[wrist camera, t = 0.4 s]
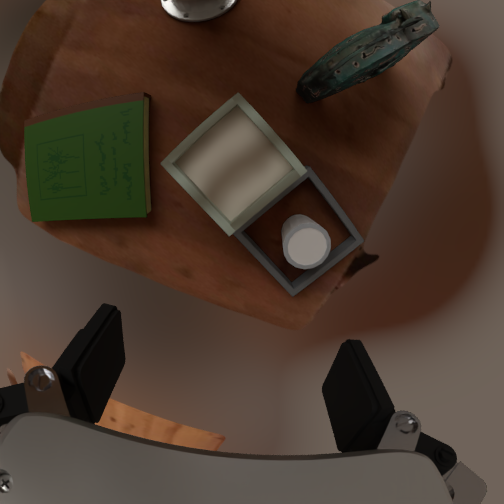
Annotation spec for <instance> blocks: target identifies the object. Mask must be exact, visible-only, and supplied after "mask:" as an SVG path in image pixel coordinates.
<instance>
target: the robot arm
mask: <svg viewBox="0 0 504 504" xmlns="http://www.w3.org/2000/svg"><path fill="white" fill-rule="evenodd" d="M236 2H237V0H161V3H162V6H163V8H164V9H165V11H166V12H167V13H168V14H169V15H170V16H171V17H173V18H175V19H177V20H181V21H186V22H201V21H207V20H210V19H214V18H216V17H218V16H221V15H222V14H224V13H226V12H227V11H228V10H230V9H231V8H232V7H233V6H234V5H235V3H236ZM221 9H223V10H221ZM186 17H187V18H186ZM124 364H125V352H124V342H123V333H122V321H121V312H120V311H119V310H117V307H116V306H113V305H109V304H105V303H104V304H102V305H101V307H100V308H99V309H98V310H97V312H96V313H95V314H94V316H93V317H92V318H91V319H90V321H89V322H88V323H87V325H86V326H85V327H84V329H81V330H80V331H78V333H77V334H76V336H75V337H74V338H73V340H72V341H71V342H70V344H69V345H68V346H67V348H66V349H65V350H64V352H63V353H62V355H61V356H60V358H59V359H58V360H57V362H56V363H55V365H54V366H53V367H52V368H50V367H48V366H36V367H33V368H31V369H30V370H29V371H28V372H27V373H26V374H25V377H24V383H20V384H16V385H12V386H8V387H4V388H0V504H481V502H482V500H483V498H484V497H485V495H486V492H487V486H486V483H485V482H484V481H483V480H482V479H481V478H480V477H479V476H477V475H476V474H475V473H474V472H473V471H471V470H470V469H469V468H468V467H466V466H465V465H464V464H463V463H462V462H461V461H460V462H459V463H457V456H456V453H455V451H454V450H453V449H452V448H451V447H450V446H448V445H447V444H444V443H442V442H440V441H438V440H436V439H434V438H432V437H430V436H428V435H426V434H424V433H422V432H420V431H421V423H420V421H419V419H418V418H417V417H416V416H415V415H414V414H412V413H411V412H408V411H397V412H395V410H394V405H393V403H392V401H391V399H390V397H389V395H388V393H387V391H386V389H385V387H384V385H383V383H382V381H381V379H380V377H379V375H378V373H377V371H376V369H375V367H374V365H373V363H372V361H371V359H370V357H369V356H368V353H367V351H366V350H365V348H364V346H363V344H362V342H361V341H360V340H350V339H348V340H346V342H344V343H342V345H341V346H340V349H339V351H338V353H337V356H336V358H335V360H334V362H333V364H332V366H331V369H330V371H329V373H328V375H327V377H326V379H325V381H324V383H323V386H322V393H323V397H324V400H325V404H326V407H327V411H328V415H329V418H330V422H331V426H332V429H333V433H334V437H335V440H336V445H337V448H338V450H339V451H341V452H342V453H333V454H317V455H255V454H239V453H228V452H219V451H210V450H203V449H196V448H190V447H184V446H178V445H172V444H167V443H162V442H158V441H153V440H149V439H145V438H141V437H137V436H133V435H129V434H125V433H122V432H118V431H115V430H111V429H108V428H105V427H101V426H98V425H95V424H94V423H95V422H96V423H98V422H99V421H100V419H101V416H102V414H103V412H104V409H105V407H106V405H107V402H108V400H109V398H110V395H111V393H112V391H113V389H114V387H115V384H116V382H117V380H118V378H119V376H120V373H121V371H122V369H123V367H124Z"/></svg>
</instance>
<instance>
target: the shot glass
mask: <svg viewBox="0 0 504 504" xmlns="http://www.w3.org/2000/svg"><path fill="white" fill-rule="evenodd" d="M281 233H282V242H283V251H284V256H285V257H286V259H287V261H288V262H289V263H290V264H292V265H293V266H294V267H296V268H301V269H310V268H314V267H316V266H318V265H320V264H322V262H323V261H324V260H325V259H326V258H327V257H328V254H329V252H330V249H331V239H330V237H329V235H328V233H327V231H326V230H325V229H324V228H322V227H321V226H320V225H319V224H317V223H316V222H314V221H313V220H312V219H310V218H309V217H308V216H305V215H301V214H299V215H293V216H291V217H289V218H288V219H287V220H286V221H285V222H284V224H283V226H282V229H281Z"/></svg>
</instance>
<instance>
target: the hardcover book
mask: <svg viewBox="0 0 504 504" xmlns="http://www.w3.org/2000/svg"><path fill="white" fill-rule="evenodd" d="M149 98H151V95H149V94H147V93H145V92H142V93H135V94H128V95H122V96H116V97H111V98H106V99H101V100H96V101H91V102H87V103H83V104H79V105H75V106H71V107H67V108H63V109H60V110H56V111H53V112H49V113H46V114H43V115H40V116H37V117H34V118H31V119H28V120H25V164H26V178H27V188H28V197H29V204H30V211H31V217H32V222H38V221H54V220H74V219H98V218H130V217H147V213H149V212H150V211H151V197H150V177H149Z"/></svg>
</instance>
